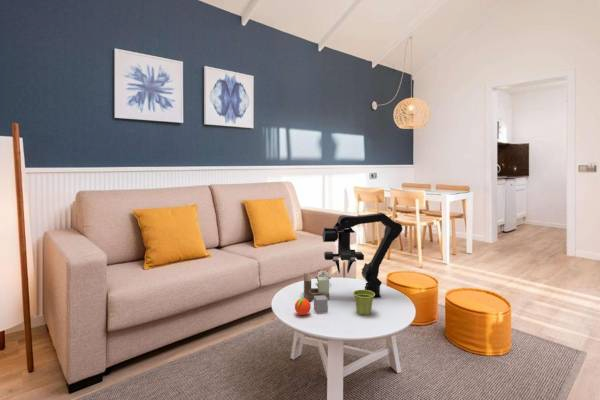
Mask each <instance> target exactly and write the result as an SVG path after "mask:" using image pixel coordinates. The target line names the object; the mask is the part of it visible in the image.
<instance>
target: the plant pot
mask: <svg viewBox="0 0 600 400" xmlns="http://www.w3.org/2000/svg"><path fill="white" fill-rule="evenodd" d="M352 295H353V297H354V301H355V308H356V309H355V310H356V313H357V314H359V315H364V316H368V315H370V314H371V313H372V308H373V300H374V299H375V298H374V296H375V293H374V292H372V291H369V290H365V289H357V290H354V291H353V292H352Z"/></svg>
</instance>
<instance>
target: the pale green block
mask: <svg viewBox="0 0 600 400" xmlns="http://www.w3.org/2000/svg"><path fill="white" fill-rule="evenodd" d="M317 288H318V293H329V294H330V279H329V278H328V277H318V281H317Z"/></svg>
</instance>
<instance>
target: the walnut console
mask: <svg viewBox="0 0 600 400" xmlns="http://www.w3.org/2000/svg"><path fill="white" fill-rule="evenodd" d="M321 295H325V296H326V298H327V299H328V301H330V292H329V293H318V287H316V288H315V287H312V276H311V273H309V272H308V273H305V272H304V273H303V296H304V297H303V298H304V299H307V300H308V301H309V302H310V303H311V302H312V301H314V296H321Z"/></svg>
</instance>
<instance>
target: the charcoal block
mask: <svg viewBox="0 0 600 400" xmlns="http://www.w3.org/2000/svg"><path fill="white" fill-rule="evenodd" d="M328 302H329V300H328V299H327V298H326V296H325V295H321V296H314V300H313V311H314V312H315V313H316V314H326V313H328V306H329V305H328V304H329V303H328Z"/></svg>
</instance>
